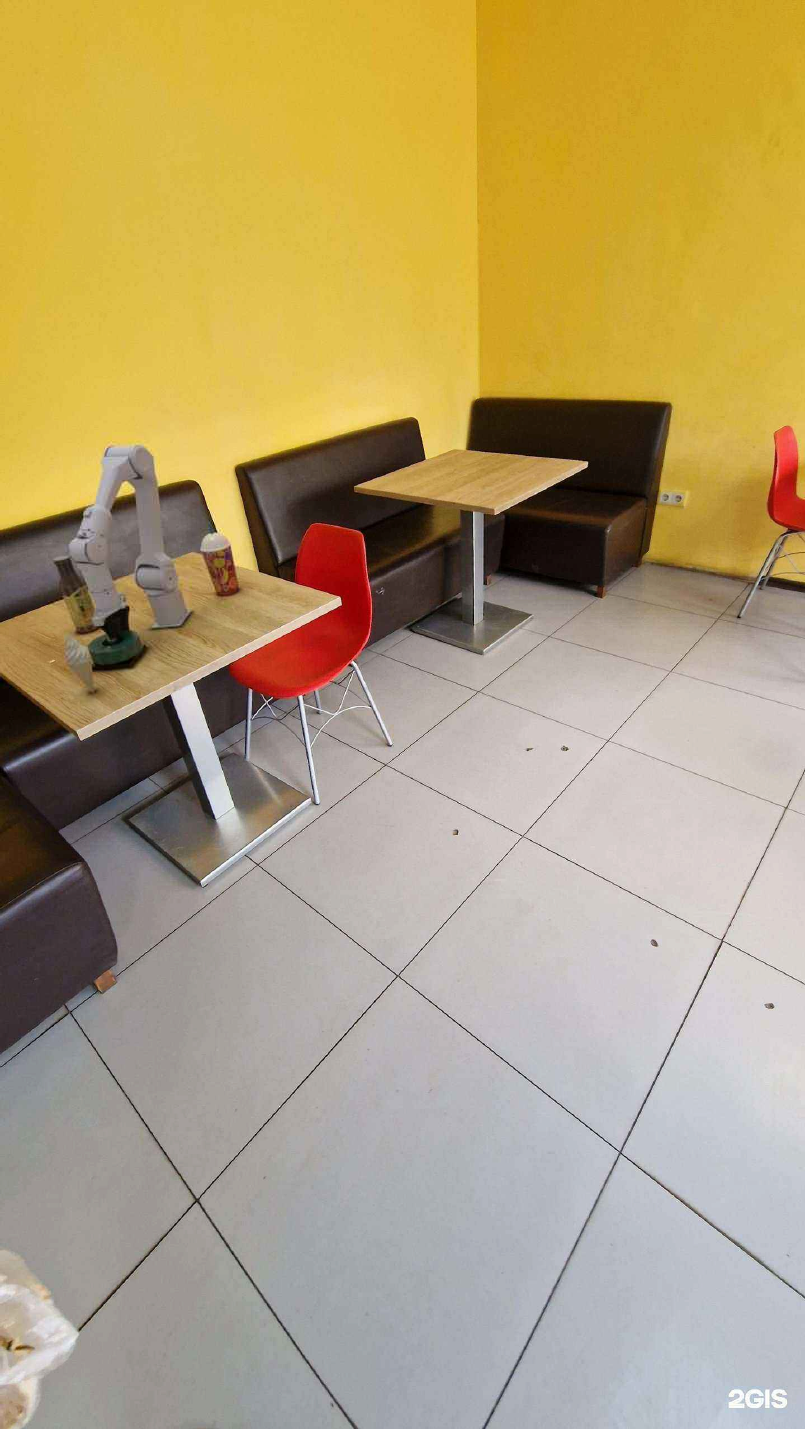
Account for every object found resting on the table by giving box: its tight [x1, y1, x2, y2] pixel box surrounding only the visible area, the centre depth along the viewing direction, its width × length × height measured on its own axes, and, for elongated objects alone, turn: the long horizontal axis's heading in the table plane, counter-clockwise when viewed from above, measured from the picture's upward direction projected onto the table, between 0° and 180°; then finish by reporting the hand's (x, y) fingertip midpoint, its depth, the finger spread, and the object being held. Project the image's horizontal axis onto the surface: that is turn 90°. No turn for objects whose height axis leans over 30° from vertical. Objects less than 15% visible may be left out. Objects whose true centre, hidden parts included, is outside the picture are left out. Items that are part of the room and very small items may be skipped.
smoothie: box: [200, 522, 239, 596], centre depth 178 cm, size 8×8×20 cm
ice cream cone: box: [63, 631, 95, 693], centre depth 137 cm, size 5×5×15 cm
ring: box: [86, 629, 143, 665], centre depth 152 cm, size 12×12×3 cm
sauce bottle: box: [52, 554, 99, 633], centre depth 166 cm, size 6×6×20 cm
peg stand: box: [91, 637, 148, 672], centre depth 152 cm, size 10×10×6 cm
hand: (122, 639), depth 155 cm, fingers closed on ring, 3 cm apart
